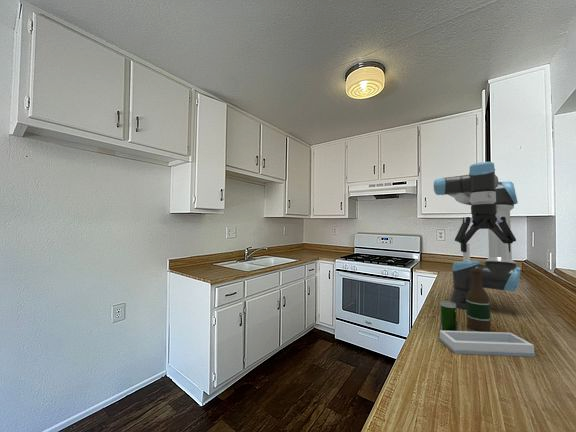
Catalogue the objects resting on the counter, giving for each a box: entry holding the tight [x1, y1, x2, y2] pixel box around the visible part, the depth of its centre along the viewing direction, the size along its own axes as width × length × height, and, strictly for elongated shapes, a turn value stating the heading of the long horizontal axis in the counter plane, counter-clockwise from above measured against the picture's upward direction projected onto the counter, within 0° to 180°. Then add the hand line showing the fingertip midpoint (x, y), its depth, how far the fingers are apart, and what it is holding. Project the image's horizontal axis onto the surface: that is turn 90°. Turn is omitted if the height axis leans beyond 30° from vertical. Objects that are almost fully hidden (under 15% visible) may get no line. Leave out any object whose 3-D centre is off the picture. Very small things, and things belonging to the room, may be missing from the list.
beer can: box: [439, 300, 459, 331], centre depth 95 cm, size 5×5×12 cm
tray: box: [438, 329, 536, 358], centre depth 85 cm, size 10×24×4 cm, turn 84°
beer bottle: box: [466, 268, 492, 332], centre depth 101 cm, size 8×8×24 cm
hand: (485, 261), depth 92 cm, fingers open, 13 cm apart
